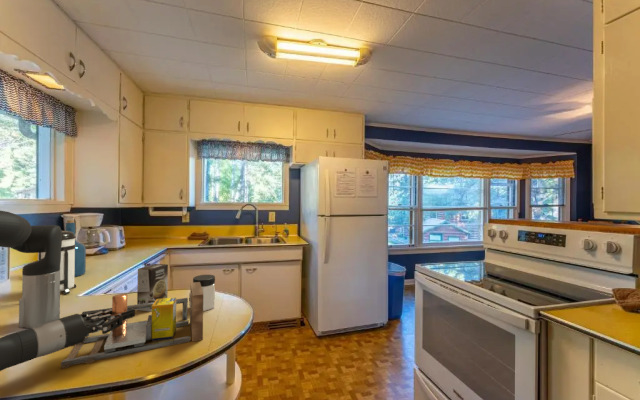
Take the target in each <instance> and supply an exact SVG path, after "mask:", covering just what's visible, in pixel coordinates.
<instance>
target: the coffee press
mask: <svg viewBox="0 0 640 400" xmlns="http://www.w3.org/2000/svg"><path fill="white" fill-rule="evenodd" d="M58 226H59V227H60V228H61V226H60V225H58ZM61 231H62V246H61V262H60V293H61V292H62V293H63V295H64V296H66V295H69V294H70V291H71V290H70V289H76V287H77V285H76V283H75V279H76V278H75V239H76V238H77V236H76V234H75V235H74V233H73V232H70V231H66V230H61ZM45 253H46V252H42V253H37V261H39V260H41V259H43V258H44V257H45Z"/></svg>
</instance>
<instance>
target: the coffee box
mask: <svg viewBox="0 0 640 400" xmlns="http://www.w3.org/2000/svg"><path fill="white" fill-rule="evenodd" d="M168 269H169V264H165V263H153V264H149V265H146V266H143V267H139V268H137V285H136V286H137V291H136V292H137V294H136V297H137V298H136V305H137V304H145V303H152V302H155V301H156V299H164V298H168V293H169V292H168V283H169V282H168V281H169V279H168V277H169V272H168V271H169V270H168ZM136 311H143V312H152V308H145V309H137V310H136Z"/></svg>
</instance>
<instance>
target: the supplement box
mask: <svg viewBox="0 0 640 400" xmlns="http://www.w3.org/2000/svg"><path fill="white" fill-rule="evenodd" d="M176 299H177V297H167V298H164V299H156V301H155V302H154V304H153V305H152V311H151V315H152V337H151V341H152V342H159V341H165V340H170V339H174V336H175V334H176V330H177V327H176V322H177V304H176Z"/></svg>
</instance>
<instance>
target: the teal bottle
mask: <svg viewBox="0 0 640 400" xmlns="http://www.w3.org/2000/svg"><path fill="white" fill-rule="evenodd" d="M76 228H77V227H76V222H74V219H68V220H67V222H66V223H65V227H64V229H65V231H70V232H73V233H74V235H75V236H76ZM86 256H87V248H86V246H85V244H84V243H82V242H81V241H77V240H76V238H75V277H76V278H77V277H80V276H82V275H84V274H86V271H87V270H86V267H87V266H86V263H87V261H86V260H87V257H86Z"/></svg>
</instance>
